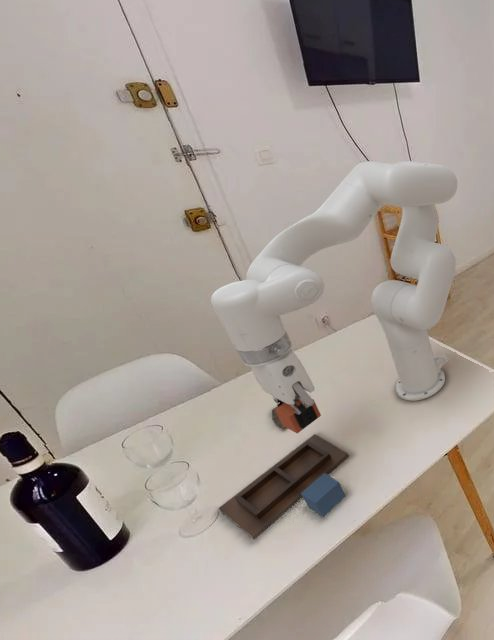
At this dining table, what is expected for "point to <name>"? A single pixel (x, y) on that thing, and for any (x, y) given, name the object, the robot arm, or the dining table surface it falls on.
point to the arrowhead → (276, 419)
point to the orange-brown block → (292, 415)
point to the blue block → (323, 494)
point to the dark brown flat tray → (282, 485)
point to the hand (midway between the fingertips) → (300, 417)
